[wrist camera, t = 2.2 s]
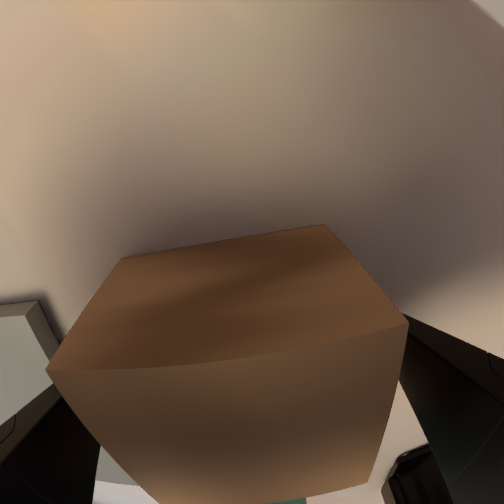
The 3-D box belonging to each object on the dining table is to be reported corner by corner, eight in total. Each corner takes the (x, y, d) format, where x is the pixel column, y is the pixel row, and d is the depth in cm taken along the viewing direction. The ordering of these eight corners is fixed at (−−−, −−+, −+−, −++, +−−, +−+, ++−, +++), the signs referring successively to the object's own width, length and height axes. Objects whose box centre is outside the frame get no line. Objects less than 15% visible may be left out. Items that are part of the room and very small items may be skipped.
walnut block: (323, 222, 9) (408, 322, 4) (329, 372, 11) (367, 482, 6) (122, 257, 9) (44, 369, 4) (177, 394, 11) (161, 505, 6)
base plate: (37, 300, 9) (24, 315, 8) (149, 472, 14) (147, 486, 13) (-82, 313, 9) (-90, 322, 8) (12, 448, 14) (8, 457, 13)
